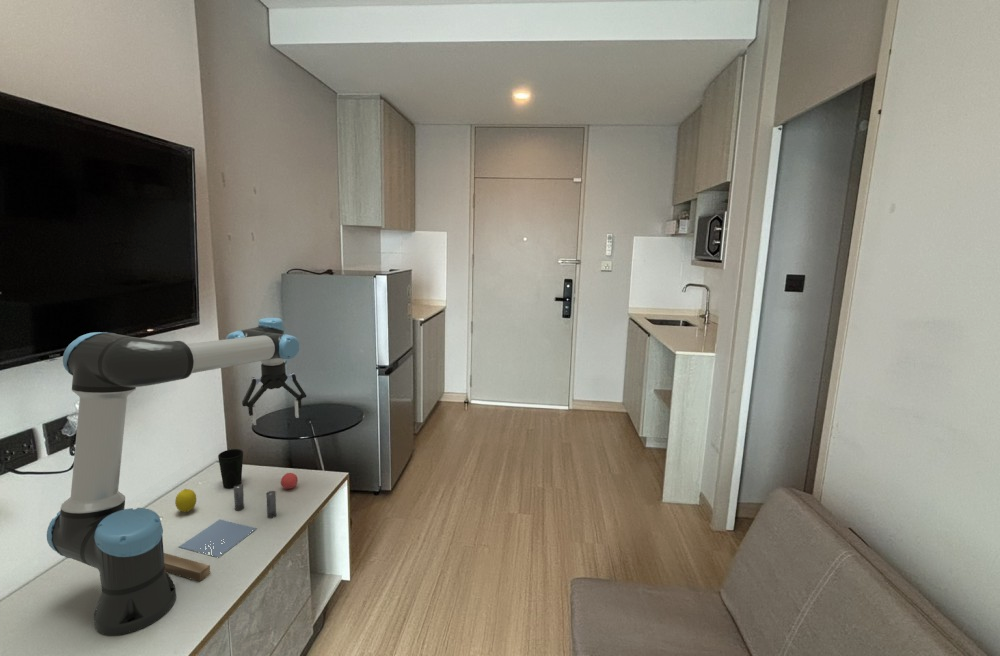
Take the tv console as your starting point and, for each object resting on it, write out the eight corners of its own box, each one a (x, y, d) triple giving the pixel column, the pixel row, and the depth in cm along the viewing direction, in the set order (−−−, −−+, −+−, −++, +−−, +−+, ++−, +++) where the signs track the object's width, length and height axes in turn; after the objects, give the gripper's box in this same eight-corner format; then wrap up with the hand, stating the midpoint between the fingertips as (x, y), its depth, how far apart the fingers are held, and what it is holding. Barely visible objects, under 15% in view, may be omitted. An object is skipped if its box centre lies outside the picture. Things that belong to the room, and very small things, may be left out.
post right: (272, 518, 145) (271, 495, 143) (265, 517, 145) (264, 494, 144) (278, 514, 147) (277, 491, 146) (271, 512, 148) (270, 490, 146)
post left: (239, 511, 148) (238, 488, 146) (232, 509, 148) (231, 487, 147) (245, 507, 150) (244, 484, 149) (239, 505, 151) (238, 483, 149)
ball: (290, 493, 160) (290, 478, 159) (277, 490, 161) (277, 476, 160) (301, 485, 165) (300, 471, 164) (288, 482, 166) (287, 469, 165)
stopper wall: (200, 581, 117) (199, 573, 117) (140, 564, 122) (139, 556, 121) (210, 573, 120) (209, 565, 119) (151, 557, 125) (150, 549, 124)
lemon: (201, 508, 148) (199, 485, 147) (188, 517, 143) (186, 494, 141) (185, 506, 149) (183, 483, 147) (171, 516, 143) (170, 492, 142)
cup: (221, 481, 165) (219, 450, 163) (245, 478, 168) (243, 447, 166) (218, 492, 158) (216, 460, 156) (243, 488, 161) (242, 456, 159)
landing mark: (218, 558, 126) (218, 557, 126) (178, 547, 129) (178, 546, 129) (257, 528, 139) (257, 528, 139) (219, 519, 143) (219, 519, 143)
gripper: (309, 356, 166) (311, 410, 170) (230, 363, 153) (234, 422, 157) (313, 361, 160) (315, 417, 164) (232, 369, 146) (236, 430, 151)
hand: (276, 420), depth 161 cm, fingers open, 13 cm apart
